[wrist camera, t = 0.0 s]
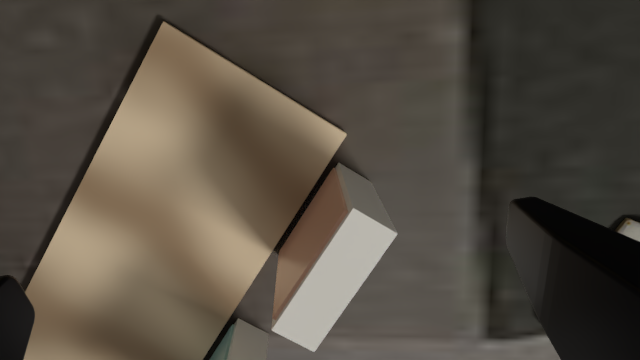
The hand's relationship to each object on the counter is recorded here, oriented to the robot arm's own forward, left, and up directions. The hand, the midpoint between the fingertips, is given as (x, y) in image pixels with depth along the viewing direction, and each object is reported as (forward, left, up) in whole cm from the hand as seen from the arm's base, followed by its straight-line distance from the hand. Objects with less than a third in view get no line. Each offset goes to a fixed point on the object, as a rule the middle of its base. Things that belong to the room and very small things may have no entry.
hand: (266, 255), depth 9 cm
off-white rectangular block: (-3, -4, -16) cm, 16 cm away
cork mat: (-9, +2, -15) cm, 18 cm away
